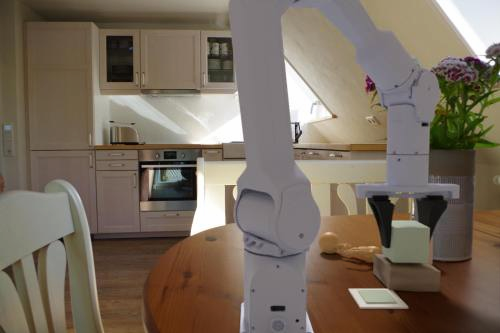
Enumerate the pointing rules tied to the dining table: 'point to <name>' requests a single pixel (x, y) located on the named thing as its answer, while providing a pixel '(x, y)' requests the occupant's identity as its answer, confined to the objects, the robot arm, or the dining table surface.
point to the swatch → (377, 299)
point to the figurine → (345, 246)
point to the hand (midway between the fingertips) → (404, 246)
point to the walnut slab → (406, 275)
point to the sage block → (408, 242)
